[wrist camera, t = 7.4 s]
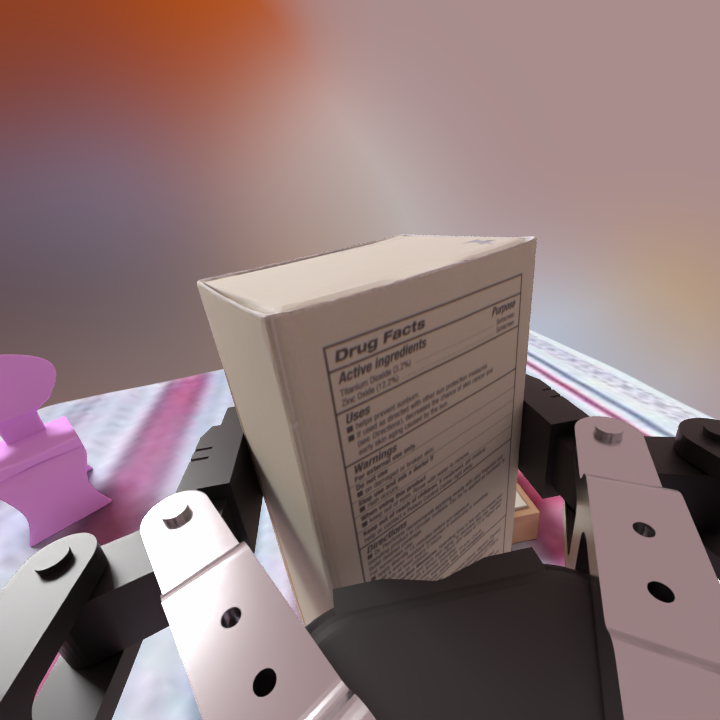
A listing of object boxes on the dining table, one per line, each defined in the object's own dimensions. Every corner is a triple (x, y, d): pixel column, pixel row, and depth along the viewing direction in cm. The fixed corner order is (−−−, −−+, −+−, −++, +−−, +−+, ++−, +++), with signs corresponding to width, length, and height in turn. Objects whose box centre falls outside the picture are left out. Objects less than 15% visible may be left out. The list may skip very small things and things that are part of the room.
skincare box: (422, 524, 16) (404, 232, 11) (515, 605, 12) (549, 231, 8) (292, 623, 13) (187, 274, 8) (368, 766, 9) (265, 305, 4)
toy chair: (16, 559, 30) (-100, 403, 24) (7, 509, 36) (-88, 373, 30) (125, 497, 35) (53, 356, 29) (102, 462, 41) (38, 339, 35)
